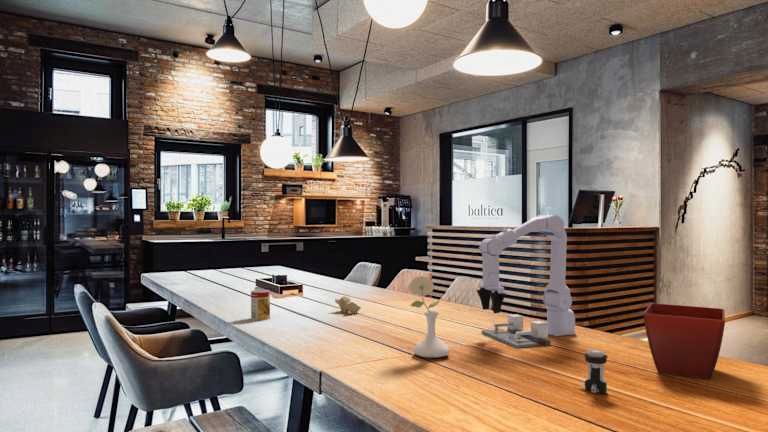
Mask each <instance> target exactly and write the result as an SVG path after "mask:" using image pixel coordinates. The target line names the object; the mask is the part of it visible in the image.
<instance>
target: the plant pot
mask: <svg viewBox="0 0 768 432" xmlns="http://www.w3.org/2000/svg"><path fill="white" fill-rule="evenodd" d="M725 313H726V312H725V309H724V308H719V307H718V308H717V307H706V306H694V305H682V304H679V305H678V304H669V303H666V304H665V303H656V302H654V303H650V304H649V305H648V307H646V308H645V310H644V311H643V321H644V322H643V323H644V327H645V328H644V329H645V332H646V337H647V343H648V347H649V349H650V353H651V356H652V360H653V363H654V366H655V369H656V370H657V373H663V374H669V375H676V376H685V377H692V378H697V379H698V378H699V379H707V380H709V379H712V377H713V375H714V372H715V368H716V366H717V362H718V360H719V356H720V352H721V348H722V342H723V337H724V331H725V325H726V316H725Z"/></svg>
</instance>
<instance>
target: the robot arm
mask: <svg viewBox="0 0 768 432" xmlns="http://www.w3.org/2000/svg"><path fill="white" fill-rule="evenodd" d="M534 231H537V232H539V233H541V234H543V235H544V236H546V237H547V238H548V239H549V240H550V262H549V263H550V264H549V266H550V268H549V283H548V284H547V285H546V286H545V288H544V290H545V291H544V293H543V296H542V301H543V303H544V305H545V306H546V311H547V312H546V314H547V315H546V316H547V317H546V319H547V320H546V321H547V322H546V323H548V335H551V336H554V337H559V336H572V335H573V336H574V335H577V332H576V315H575V312H574V311H573V310H572V309H570V308H571V306H572V304H573V298H572V296H571V290H570V288H569V287H568V286H567V284H566V274H567V273H566V271H567V264H566V263H567V249H568V248H567V244H568V243H567V242H568V240H567V239H568V235H567V231H566V230H565V220H564V219H563V218H562V217H560V216H559V215H557V214H551V215H549V214H548V215H546V214H545V215H544V214H539V215H536V216H534V217H531V218H530V219H529V220H528V221H526V222H523V223H522V224H520V225H519V226H517V227H515V228H514V229H511V228H503V229H501V232H499V233H497V234H492V235H491V237H490V238H485V239H483V240H482V241H481V242H480V245H479V246H478V250H479V251H480V252H481V255H482V256H481V257H482V282H478V289H476V293H477V295H478V296H479V301H480V304H481V306H482V310H484V311H486V310H489V309H490V303H491V306H492V311H493V314H500V312H501V309H502V305H503V302H504V299H505V298H506V296H507V293H506V292H505V287H504V286H501V285H500V254H501V253H502V252H503V250H505V249H507V248H509V247H510V246H512V245H514V244H517V242H518V238H521V237H522V236H525V235H527V234H529V233H531V232H534Z"/></svg>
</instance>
